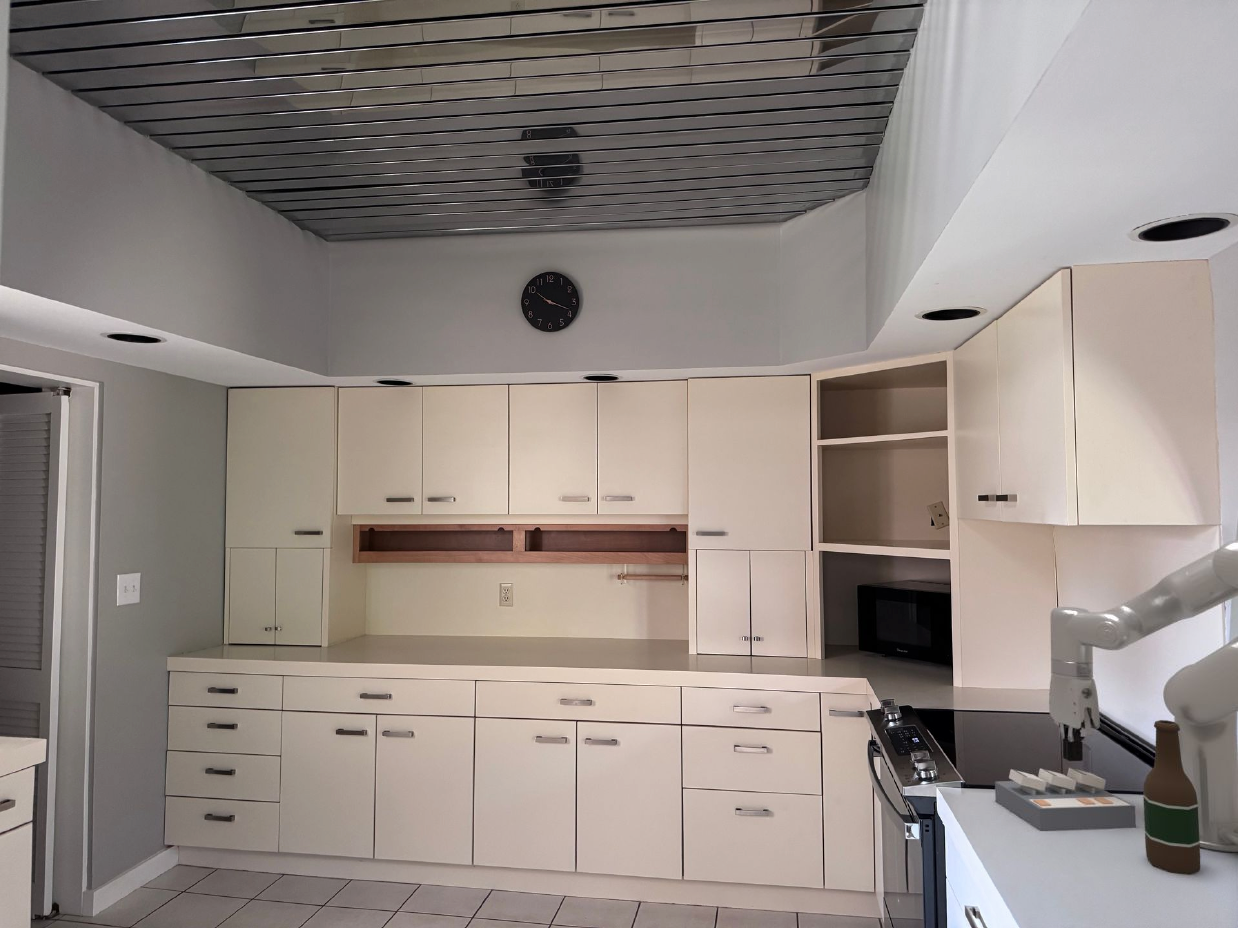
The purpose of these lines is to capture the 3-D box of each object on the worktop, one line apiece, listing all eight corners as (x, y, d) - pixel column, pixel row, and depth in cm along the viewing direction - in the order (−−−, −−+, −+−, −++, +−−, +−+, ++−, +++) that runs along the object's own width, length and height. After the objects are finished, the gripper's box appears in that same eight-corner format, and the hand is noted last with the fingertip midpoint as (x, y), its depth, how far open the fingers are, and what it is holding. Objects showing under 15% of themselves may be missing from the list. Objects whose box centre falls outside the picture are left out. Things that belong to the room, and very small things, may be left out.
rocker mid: (1074, 789, 163) (1076, 780, 164) (1050, 783, 163) (1052, 774, 163) (1060, 782, 168) (1062, 773, 168) (1038, 776, 167) (1040, 767, 168)
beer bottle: (1149, 851, 145) (1143, 713, 146) (1202, 863, 140) (1196, 720, 142) (1143, 866, 139) (1136, 722, 140) (1198, 879, 134) (1191, 730, 136)
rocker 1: (1044, 790, 163) (1046, 781, 163) (1020, 784, 163) (1023, 775, 163) (1031, 783, 167) (1033, 774, 167) (1008, 777, 167) (1010, 768, 167)
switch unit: (1135, 827, 156) (1134, 800, 157) (1040, 830, 155) (1039, 803, 155) (1082, 798, 172) (1081, 774, 173) (995, 801, 171) (994, 776, 171)
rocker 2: (1103, 789, 164) (1105, 779, 164) (1080, 783, 164) (1082, 773, 164) (1089, 781, 168) (1091, 772, 168) (1067, 776, 168) (1069, 767, 168)
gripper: (1113, 676, 160) (1115, 771, 159) (1066, 661, 175) (1067, 748, 174) (1077, 676, 160) (1078, 771, 159) (1032, 661, 174) (1033, 748, 174)
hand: (1072, 759), depth 166 cm, fingers closed
